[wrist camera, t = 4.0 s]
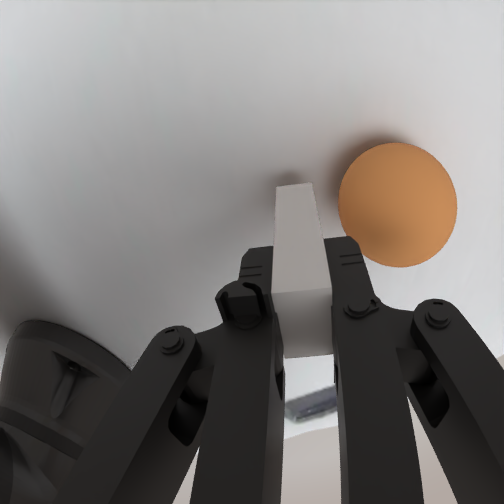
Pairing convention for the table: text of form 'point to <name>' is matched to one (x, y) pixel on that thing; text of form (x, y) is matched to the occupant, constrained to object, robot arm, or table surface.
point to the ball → (397, 204)
